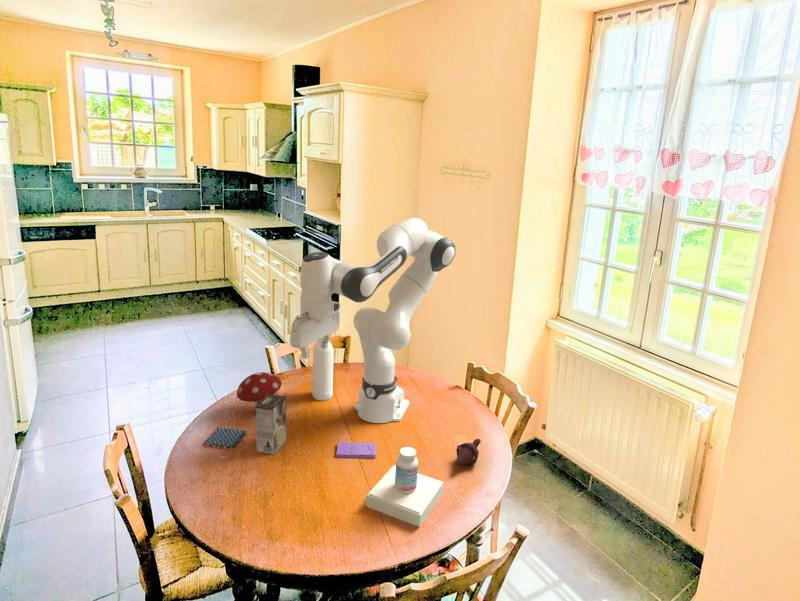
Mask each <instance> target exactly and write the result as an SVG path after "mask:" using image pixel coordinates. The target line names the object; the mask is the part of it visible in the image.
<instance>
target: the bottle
mask: <svg viewBox="0 0 800 601" xmlns="http://www.w3.org/2000/svg"><path fill="white" fill-rule="evenodd" d="M322 341H323V338H321V339H319V340H317V341H315V343H314V344H313V348H312V390H311V391H312V394H311V395H312V398H313V399H314V400H317V401H329V400H330V399H331V398H333V394H334V387H333V385H334V383H333V382H334V347H333V344H332V343H331V342H330V341H329V342H328V347H327V348H325V349H324V348H321V342H322Z"/></svg>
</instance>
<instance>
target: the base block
mask: <svg viewBox="0 0 800 601" xmlns="http://www.w3.org/2000/svg"><path fill="white" fill-rule="evenodd" d="M395 474H396V464H394V465H392V466H391V467H390V468H389V470H388V471H386V472H385V474H384V475H383V476H382V478H380V480H379V481H378V482H377V483H376V484H375V485H374V487H373V488H371V489H370V491H368V493H367V494H366V501H365V502H366V504H365V505H366V507H367V508H369V509H372V510H375V511H377V512H380V513H382V514H385V515H387V516H390V517H392V518H394V519H398V520H400V521H402V522H405V523H408V524H411V525H413V526H415V527H418V528H421V526H422V525H423V523H424V521H425V520H426V519H427V517H428V516H429V515H430V513H431V511H432V509H433V508H434V507H435V505H436V504H437V502H438V501H439V499H440V498H441V496H442V495H443V493H444V485H445V484H444V481H442V480H438V479H436V478H434V477H430V476H427V475H424V474H421V473H418V474H417V487H416V489H415V490H414V491H413V492H411V493H402V492H400V491H398V490H397V489H396V487H395Z"/></svg>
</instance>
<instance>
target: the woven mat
mask: <svg viewBox="0 0 800 601" xmlns="http://www.w3.org/2000/svg"><path fill="white" fill-rule="evenodd" d="M213 431H214V432H212V433H211V435H209V437H207V438H206V440H205V441H204V442H203V445H204V447H210V448H218V449H219V448H220V449H223V450H224V449H226V450H233V449H235V448H236V446H237V445H238V444H239V443H240V442H241V440H243V438H244V437H245V435H247V433H248V432H247V430H244V429H239V428H237V429H236V428H230V427H223V426H219V427H217V428H216V429H215V430H213Z"/></svg>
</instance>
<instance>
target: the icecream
mask: <svg viewBox="0 0 800 601" xmlns="http://www.w3.org/2000/svg"><path fill="white" fill-rule="evenodd" d="M481 441H482V440H481V439H480V438H476V439H474V440H473V442H464V443H462V444H459V445H456V460H455V465H461V464H463V465H466V466H472V465H475V464H476V463H477V461H478V458H479V454H480V453H479V449H478V446H479V445H480V444H481Z"/></svg>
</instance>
